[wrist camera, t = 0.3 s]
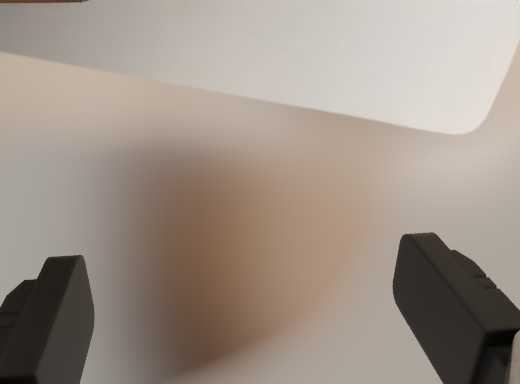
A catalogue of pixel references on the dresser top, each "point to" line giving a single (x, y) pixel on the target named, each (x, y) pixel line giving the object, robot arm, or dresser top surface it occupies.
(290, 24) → the dresser top surface
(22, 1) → the cabinet
